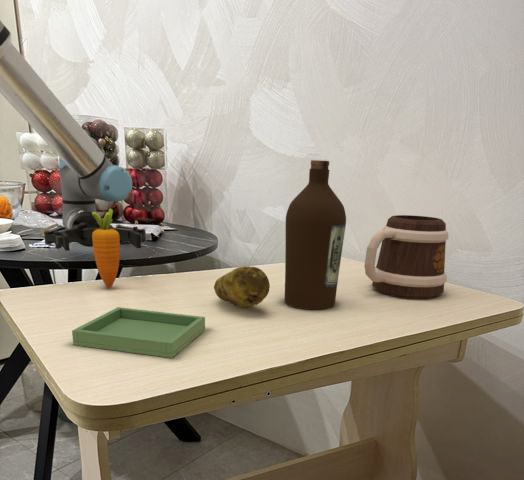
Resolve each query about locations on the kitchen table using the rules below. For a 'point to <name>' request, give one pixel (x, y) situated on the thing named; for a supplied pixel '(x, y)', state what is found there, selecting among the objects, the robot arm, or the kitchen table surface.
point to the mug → (408, 257)
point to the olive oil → (314, 243)
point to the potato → (243, 286)
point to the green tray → (140, 331)
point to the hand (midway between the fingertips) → (104, 242)
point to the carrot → (106, 249)
